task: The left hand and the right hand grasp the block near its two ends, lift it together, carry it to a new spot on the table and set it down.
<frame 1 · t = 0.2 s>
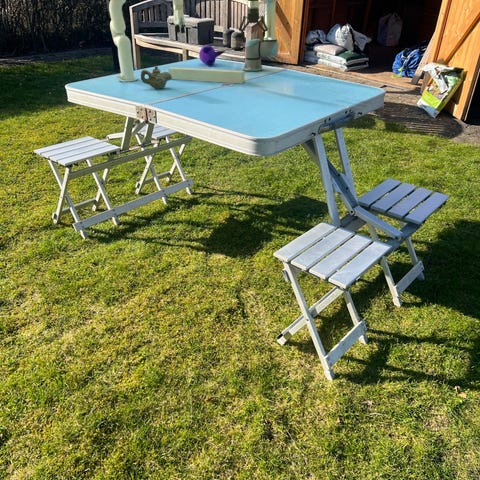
left hand: (180, 32, 344), 31 cm above the table, tool pointing down, fingers open, 9 cm apart
right hand: (253, 42, 314), 27 cm above the table, tool pointing down, fingers open, 13 cm apart
toy: (211, 65, 396), on the table
block: (206, 80, 337), on the table
teapot: (157, 88, 314), on the table
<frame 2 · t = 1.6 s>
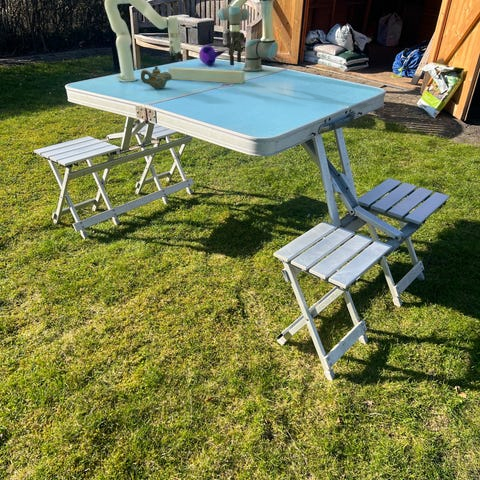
left hand: (176, 60, 338), 13 cm above the table, tool pointing down, fingers open, 9 cm apart
right hand: (235, 63, 323), 13 cm above the table, tool pointing down, fingers open, 13 cm apart
nothing on the table moved.
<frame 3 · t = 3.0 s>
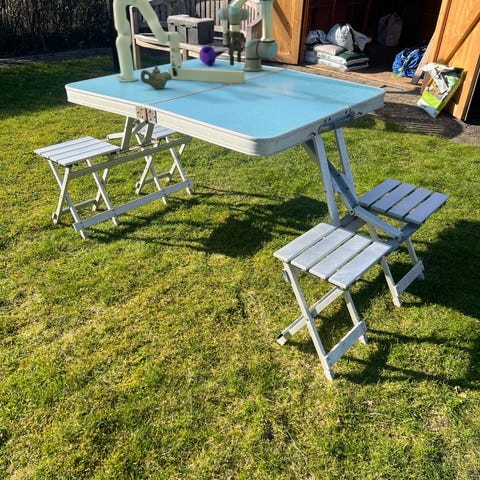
left hand: (177, 75, 344), 3 cm above the table, tool pointing down, fingers closed on block, 6 cm apart
right hand: (235, 63, 323), 13 cm above the table, tool pointing down, fingers open, 13 cm apart
block: (206, 80, 337), on the table, touching left hand
everything else where it was.
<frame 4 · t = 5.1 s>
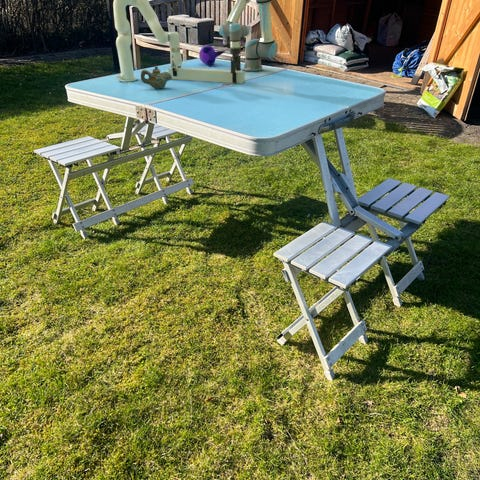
left hand: (177, 75, 344), 3 cm above the table, tool pointing down, fingers closed on block, 6 cm apart
right hand: (236, 81, 329), 0 cm above the table, tool pointing down, fingers closed on block, 6 cm apart
block: (206, 80, 337), on the table, touching left hand, right hand
everything else where it was.
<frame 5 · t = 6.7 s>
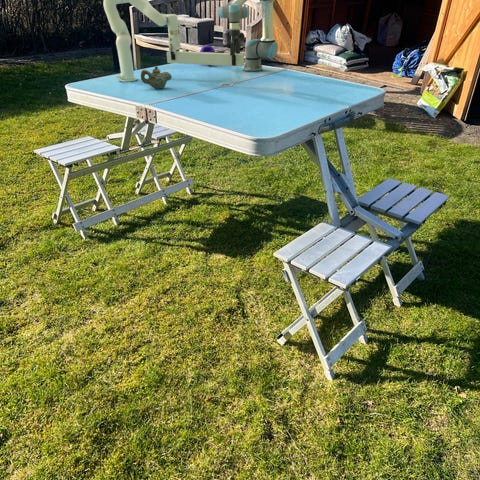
left hand: (175, 58, 338), 14 cm above the table, tool pointing down, fingers closed on block, 6 cm apart
right hand: (235, 64, 323), 12 cm above the table, tool pointing down, fingers closed on block, 6 cm apart
block: (205, 64, 331), point 12 cm above the table, touching left hand, right hand
everything else where it was.
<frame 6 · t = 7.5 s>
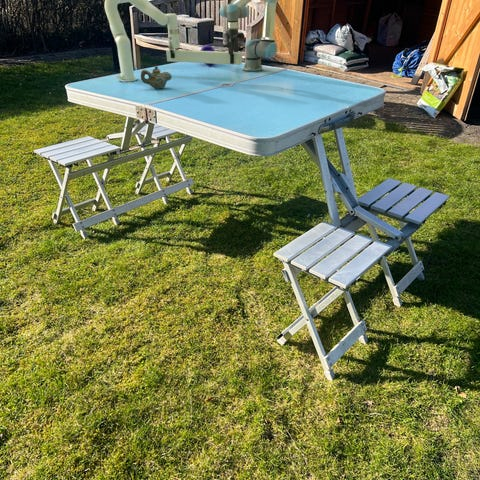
left hand: (174, 57, 346), 14 cm above the table, tool pointing down, fingers closed on block, 6 cm apart
right hand: (233, 62, 331), 12 cm above the table, tool pointing down, fingers closed on block, 6 cm apart
block: (203, 62, 339), point 11 cm above the table, touching left hand, right hand
everything else where it was.
when the right hand's fingers open (2 cm above the table, at t = 10.1 s): block drops 1 cm, on the table.
when the left hand's fingers open (4 cm above the table, at t = 10.2 s): block stays where it is, on the table.
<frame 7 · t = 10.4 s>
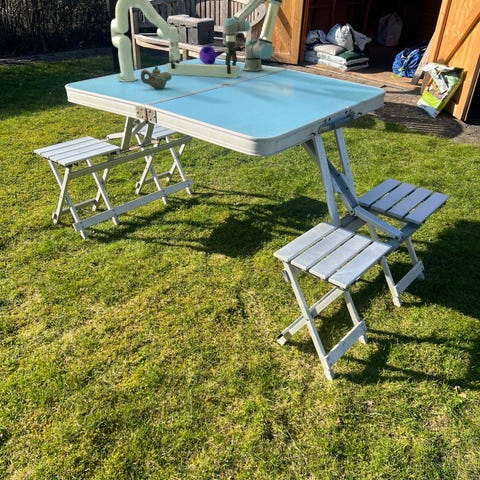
left hand: (175, 67, 361), 4 cm above the table, tool pointing down, fingers open, 7 cm apart
right hand: (231, 72, 346), 3 cm above the table, tool pointing down, fingers open, 10 cm apart
block: (202, 75, 356), on the table
everything else where it was.
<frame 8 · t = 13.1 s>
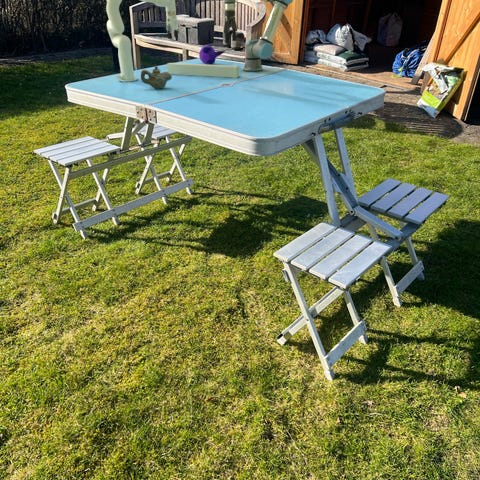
left hand: (173, 38, 350), 26 cm above the table, tool pointing down, fingers open, 9 cm apart
right hand: (230, 42, 335), 25 cm above the table, tool pointing down, fingers open, 13 cm apart
nothing on the table moved.
at the end: block inside the target area (0.5 cm from its centre), on the table; block tilted 0°; block never tilted more than 2° during the clip; both hands held the block at the same time; the left hand is holding nothing; the right hand is holding nothing; block at rest at the end (0.0 cm/s) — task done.
